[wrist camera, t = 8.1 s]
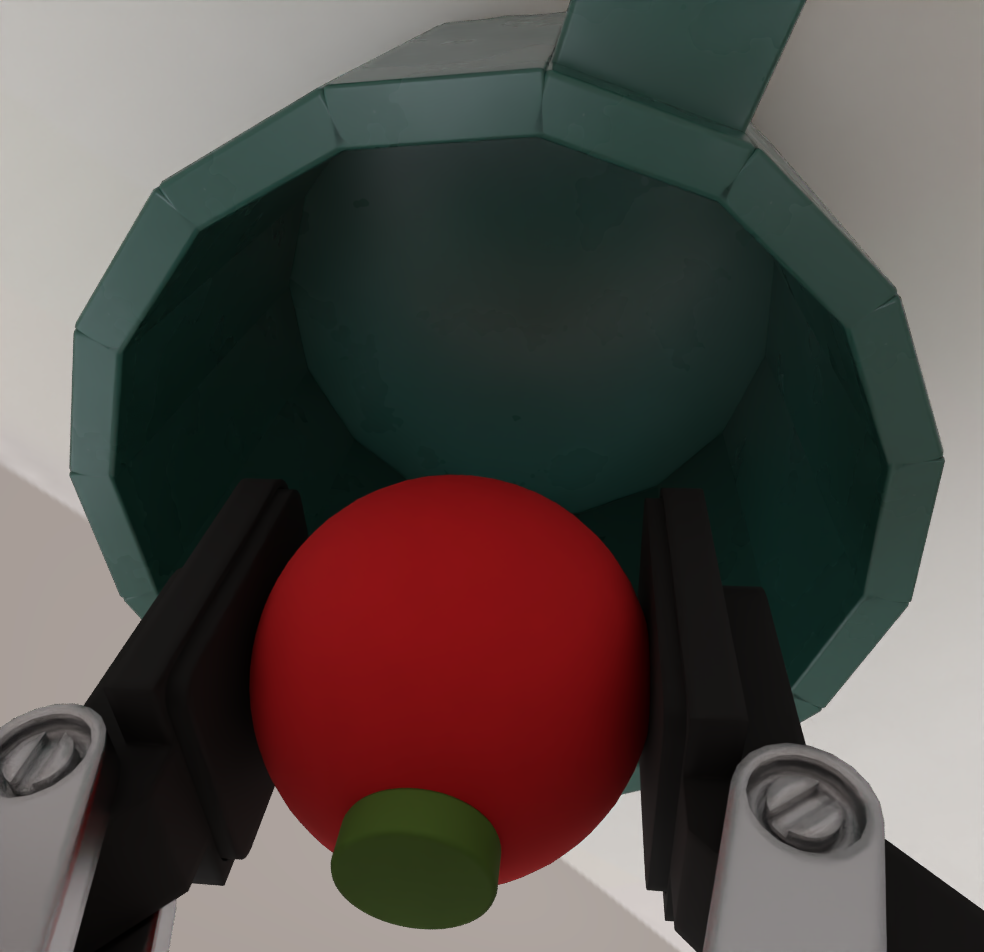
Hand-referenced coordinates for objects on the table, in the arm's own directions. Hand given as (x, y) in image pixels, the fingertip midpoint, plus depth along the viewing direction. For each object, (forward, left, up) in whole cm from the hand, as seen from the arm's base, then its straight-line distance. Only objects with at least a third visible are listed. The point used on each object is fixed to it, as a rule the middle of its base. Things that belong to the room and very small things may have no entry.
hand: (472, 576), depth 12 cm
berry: (0, 0, +2) cm, 2 cm away
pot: (0, 0, -10) cm, 10 cm away
